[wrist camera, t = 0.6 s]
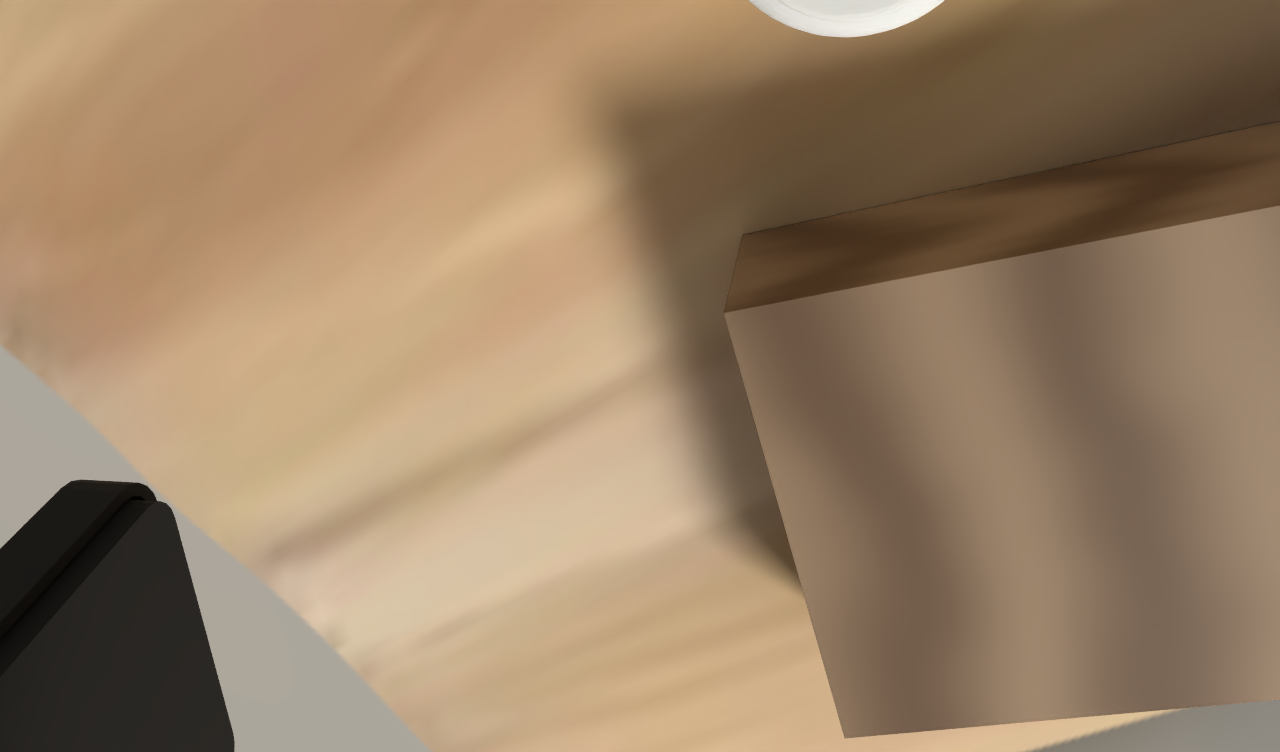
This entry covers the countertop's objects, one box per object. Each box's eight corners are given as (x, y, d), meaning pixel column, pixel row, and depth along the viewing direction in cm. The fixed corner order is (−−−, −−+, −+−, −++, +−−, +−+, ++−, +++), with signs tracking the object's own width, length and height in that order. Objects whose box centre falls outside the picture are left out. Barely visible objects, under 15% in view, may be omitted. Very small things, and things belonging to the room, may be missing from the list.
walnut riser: (1482, 78, 28) (1592, 145, 24) (1474, 552, 34) (1561, 674, 30) (742, 234, 33) (723, 313, 29) (847, 625, 39) (844, 738, 35)
